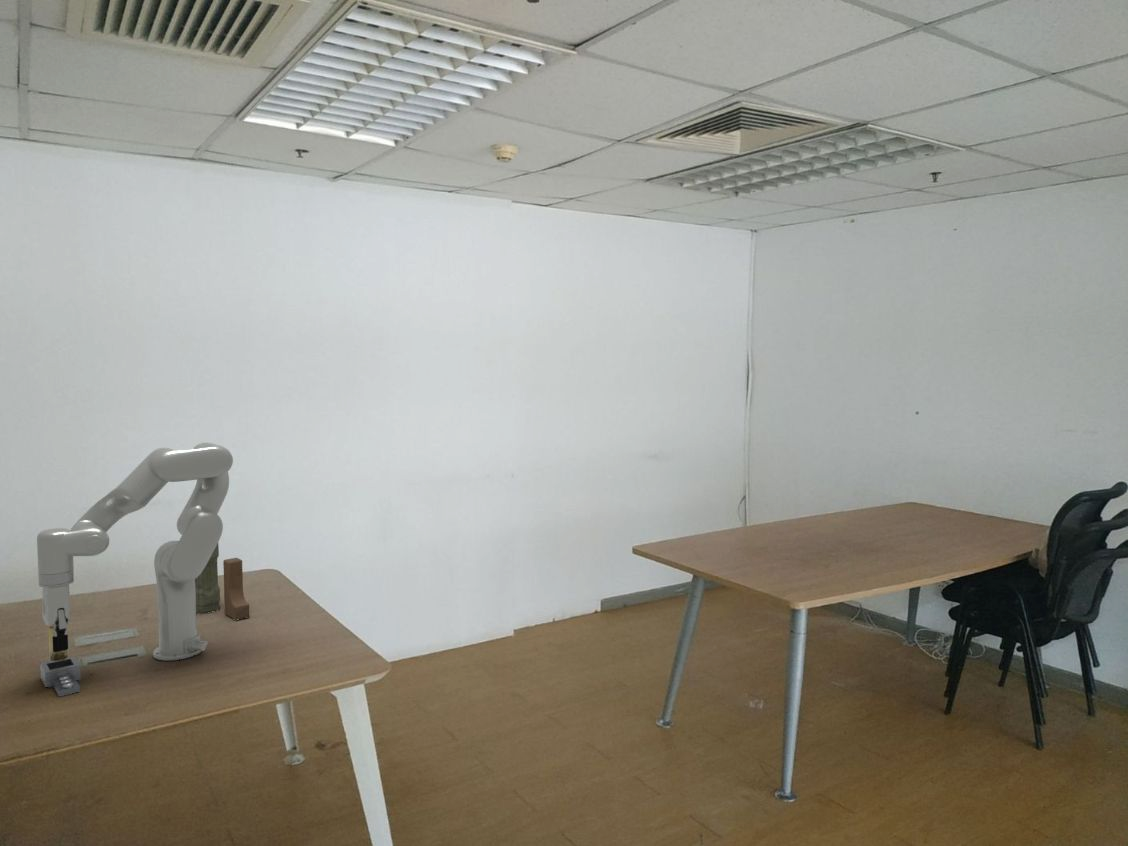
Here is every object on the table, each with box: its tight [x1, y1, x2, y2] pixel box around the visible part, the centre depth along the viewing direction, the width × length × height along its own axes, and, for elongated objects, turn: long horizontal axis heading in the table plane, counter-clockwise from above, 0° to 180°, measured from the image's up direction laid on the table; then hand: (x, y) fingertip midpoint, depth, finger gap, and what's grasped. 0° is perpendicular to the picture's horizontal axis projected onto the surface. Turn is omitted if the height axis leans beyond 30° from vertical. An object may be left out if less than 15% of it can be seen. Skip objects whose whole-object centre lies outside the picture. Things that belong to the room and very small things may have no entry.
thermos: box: [195, 543, 221, 614], centre depth 252 cm, size 9×12×35 cm
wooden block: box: [222, 557, 250, 621], centre depth 247 cm, size 9×4×18 cm, turn 45°
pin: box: [45, 622, 69, 661], centre depth 197 cm, size 5×5×10 cm
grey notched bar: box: [39, 656, 82, 698], centre depth 198 cm, size 24×8×4 cm, turn 42°
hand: (59, 647), depth 197 cm, fingers closed on pin, 4 cm apart
